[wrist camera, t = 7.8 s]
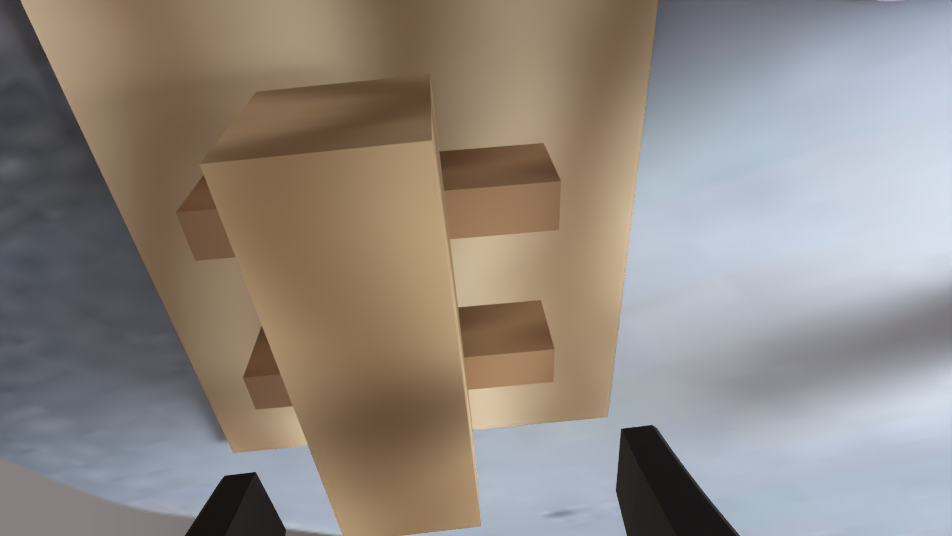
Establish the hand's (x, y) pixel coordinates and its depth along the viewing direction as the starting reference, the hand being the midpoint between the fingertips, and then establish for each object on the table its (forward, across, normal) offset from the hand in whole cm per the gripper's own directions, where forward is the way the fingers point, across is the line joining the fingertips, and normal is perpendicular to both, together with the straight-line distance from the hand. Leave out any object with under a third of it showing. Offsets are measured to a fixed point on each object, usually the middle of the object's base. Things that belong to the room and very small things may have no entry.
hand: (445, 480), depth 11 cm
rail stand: (+10, +2, 0) cm, 10 cm away
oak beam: (+6, +2, 0) cm, 7 cm away
